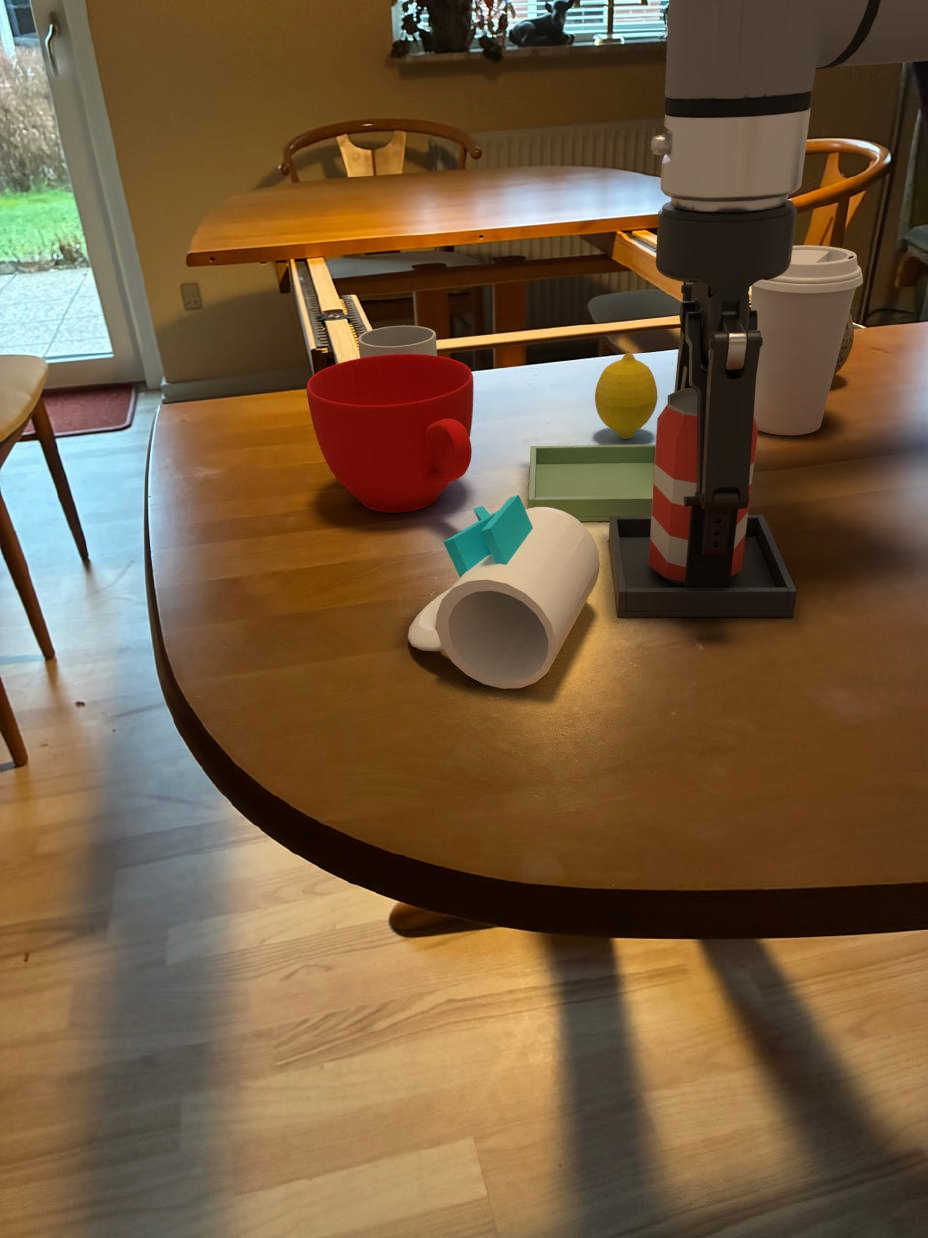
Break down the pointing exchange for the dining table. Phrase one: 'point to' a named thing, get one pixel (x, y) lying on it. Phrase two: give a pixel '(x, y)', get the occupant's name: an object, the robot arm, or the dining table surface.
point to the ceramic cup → (394, 426)
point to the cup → (397, 341)
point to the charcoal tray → (652, 595)
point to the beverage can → (681, 488)
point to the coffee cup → (801, 336)
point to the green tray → (593, 480)
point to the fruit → (626, 396)
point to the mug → (511, 594)
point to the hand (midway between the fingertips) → (696, 558)
